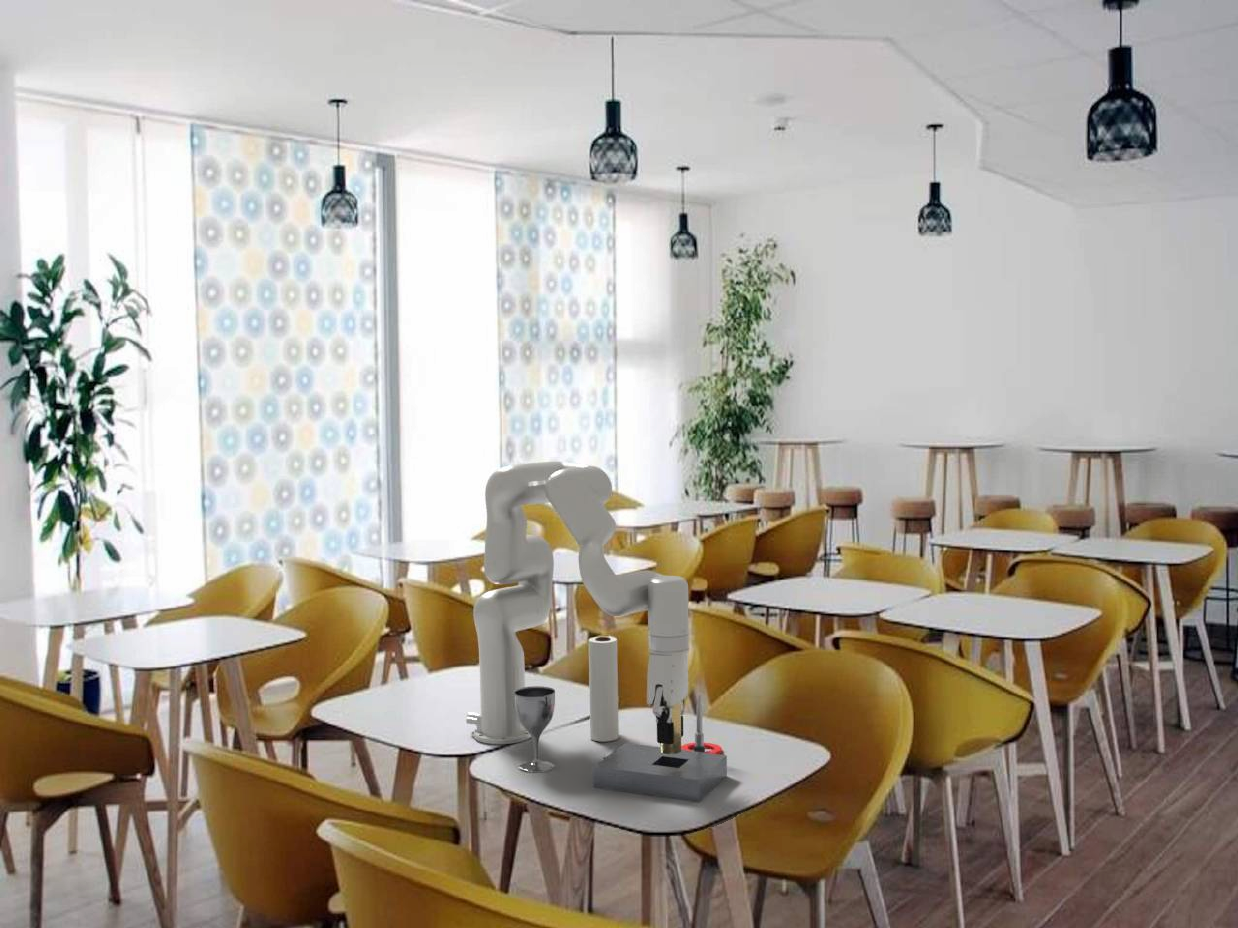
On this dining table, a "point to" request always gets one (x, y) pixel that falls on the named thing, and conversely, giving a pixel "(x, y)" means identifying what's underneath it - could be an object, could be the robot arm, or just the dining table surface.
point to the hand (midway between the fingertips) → (670, 738)
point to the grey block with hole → (660, 772)
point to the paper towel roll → (603, 689)
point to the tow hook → (701, 736)
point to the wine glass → (535, 719)
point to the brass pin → (676, 720)
